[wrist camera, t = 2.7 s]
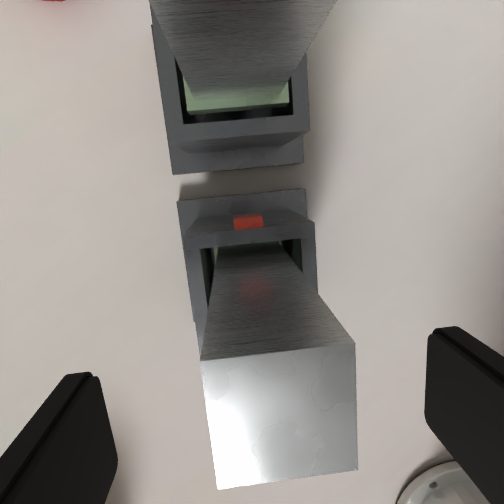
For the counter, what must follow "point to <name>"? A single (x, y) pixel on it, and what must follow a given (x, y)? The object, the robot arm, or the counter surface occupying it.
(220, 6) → the twin stand
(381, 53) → the counter surface
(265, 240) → the stand sleeve
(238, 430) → the column
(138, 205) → the counter surface
